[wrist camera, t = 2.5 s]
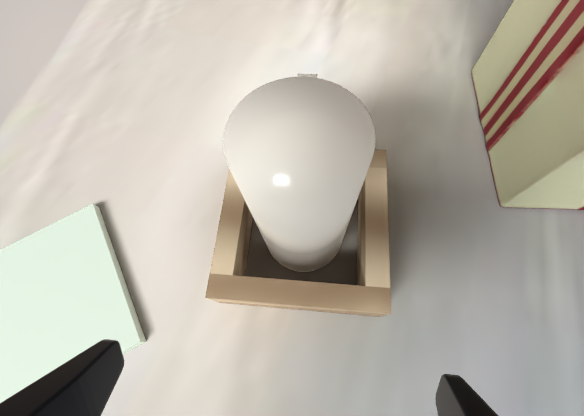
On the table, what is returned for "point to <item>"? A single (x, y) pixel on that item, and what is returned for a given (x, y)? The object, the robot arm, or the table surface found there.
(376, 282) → the collar
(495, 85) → the gift box
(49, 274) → the pad
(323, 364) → the table surface
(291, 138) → the white tall cylinder
